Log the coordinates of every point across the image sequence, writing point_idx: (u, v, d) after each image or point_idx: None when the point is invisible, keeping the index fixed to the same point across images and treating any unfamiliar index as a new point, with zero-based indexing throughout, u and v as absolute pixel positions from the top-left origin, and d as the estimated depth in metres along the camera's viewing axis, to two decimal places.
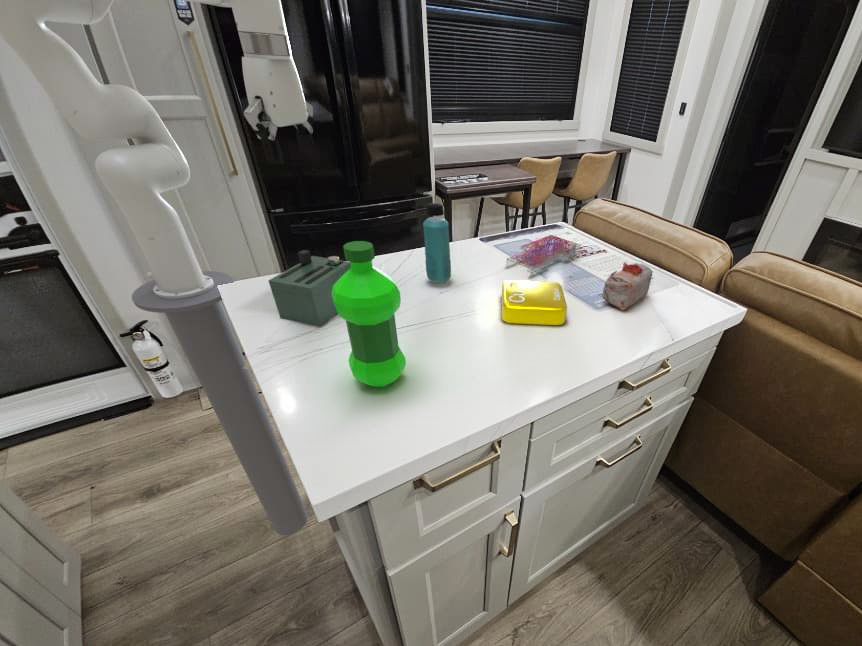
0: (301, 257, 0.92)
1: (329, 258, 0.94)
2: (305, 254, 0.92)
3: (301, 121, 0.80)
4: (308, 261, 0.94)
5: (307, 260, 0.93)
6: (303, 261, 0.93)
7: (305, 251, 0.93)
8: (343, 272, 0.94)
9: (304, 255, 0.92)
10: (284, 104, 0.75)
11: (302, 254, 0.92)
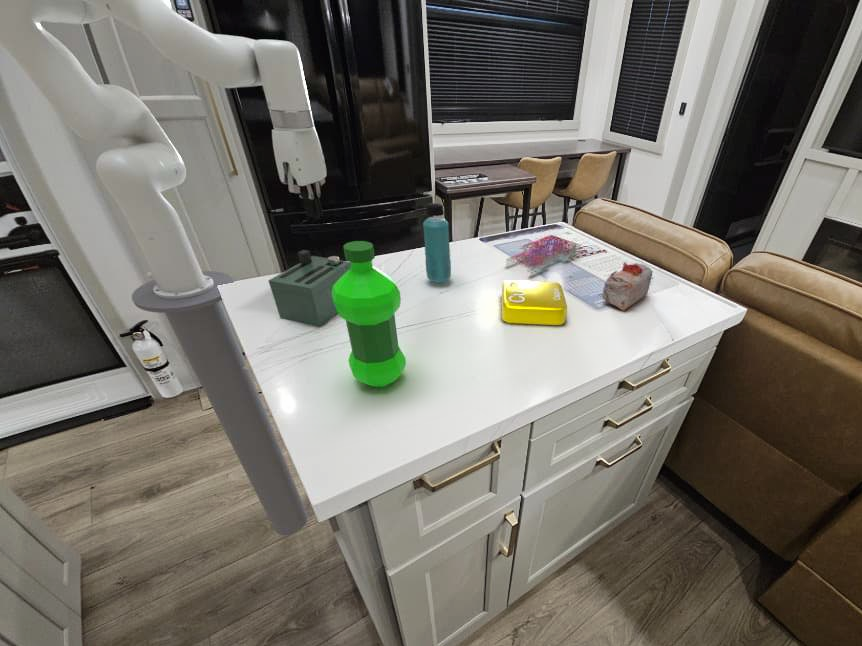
0: (301, 257, 0.92)
1: (329, 258, 0.94)
2: (305, 254, 0.92)
3: (321, 178, 0.90)
4: (308, 261, 0.94)
5: (307, 260, 0.93)
6: (303, 261, 0.93)
7: (305, 251, 0.93)
8: (343, 272, 0.94)
9: (304, 255, 0.92)
10: (307, 167, 0.85)
11: (302, 254, 0.92)
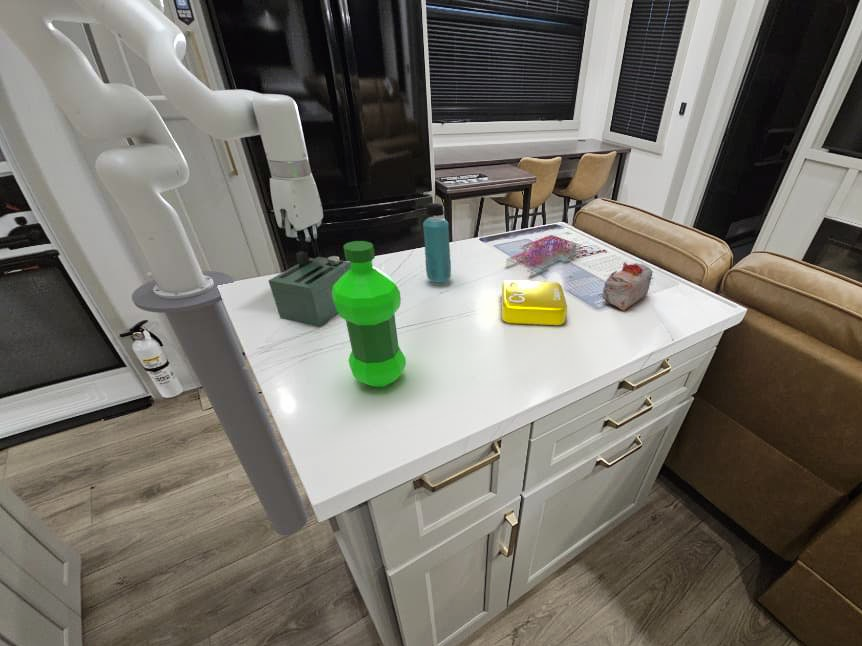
0: (299, 258, 0.92)
1: (329, 258, 0.94)
2: (303, 255, 0.92)
3: (318, 221, 0.92)
4: (306, 262, 0.93)
5: (305, 261, 0.93)
6: (301, 262, 0.92)
7: (303, 252, 0.92)
8: (343, 272, 0.94)
9: (302, 256, 0.92)
10: (304, 212, 0.87)
11: (300, 255, 0.91)
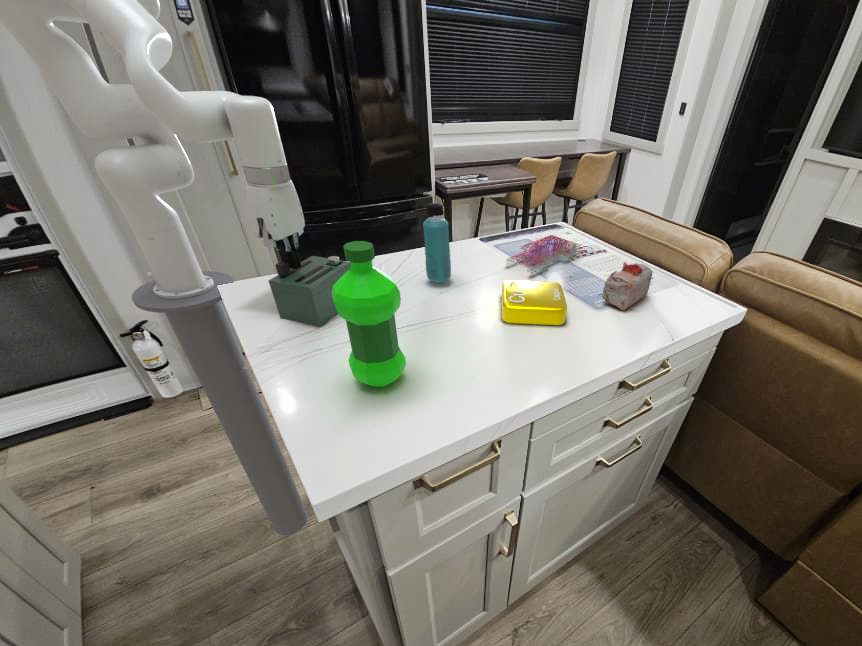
0: (279, 269, 0.87)
1: (329, 258, 0.94)
2: (283, 266, 0.87)
3: (299, 230, 0.87)
4: (287, 273, 0.88)
5: (286, 272, 0.88)
6: (281, 273, 0.87)
7: (283, 262, 0.87)
8: (343, 272, 0.94)
9: (282, 267, 0.87)
10: (283, 221, 0.82)
11: (280, 266, 0.86)
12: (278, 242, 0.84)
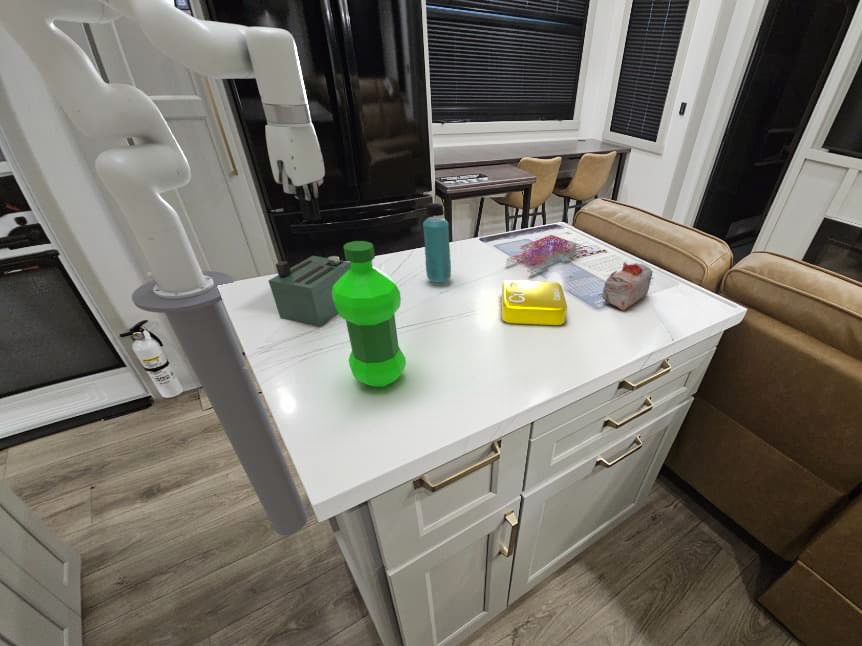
0: (279, 269, 0.87)
1: (329, 258, 0.94)
2: (283, 266, 0.87)
3: (319, 178, 0.84)
4: (287, 273, 0.88)
5: (286, 272, 0.88)
6: (282, 273, 0.88)
7: (284, 262, 0.87)
8: (343, 272, 0.94)
9: (282, 267, 0.87)
10: (304, 165, 0.79)
11: (280, 265, 0.86)
12: (298, 189, 0.81)
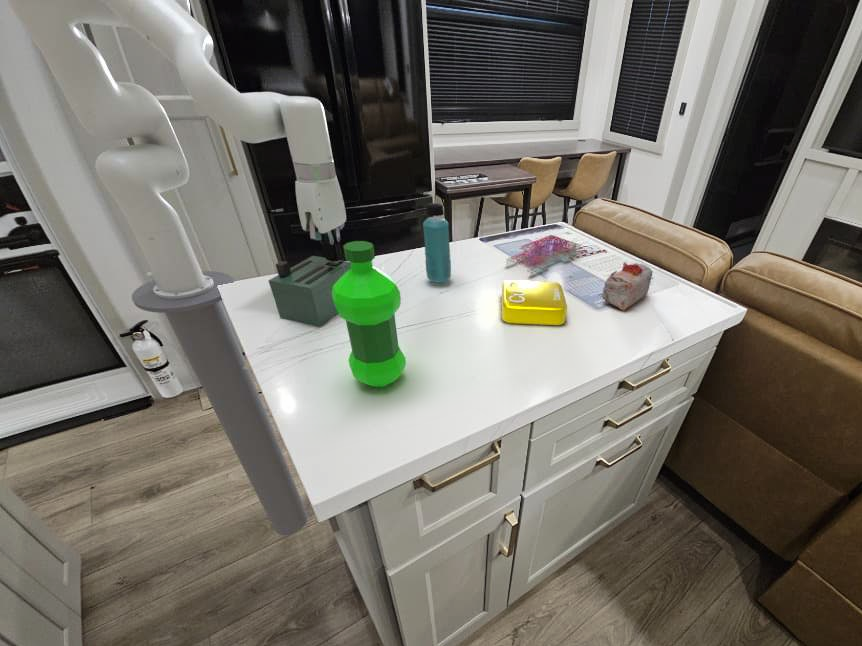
0: (279, 269, 0.87)
1: (329, 260, 0.94)
2: (283, 266, 0.87)
3: (341, 223, 0.92)
4: (287, 273, 0.88)
5: (286, 272, 0.88)
6: (282, 273, 0.88)
7: (284, 262, 0.87)
8: (343, 272, 0.94)
9: (282, 267, 0.87)
10: (329, 215, 0.87)
11: (280, 265, 0.86)
12: (323, 235, 0.88)
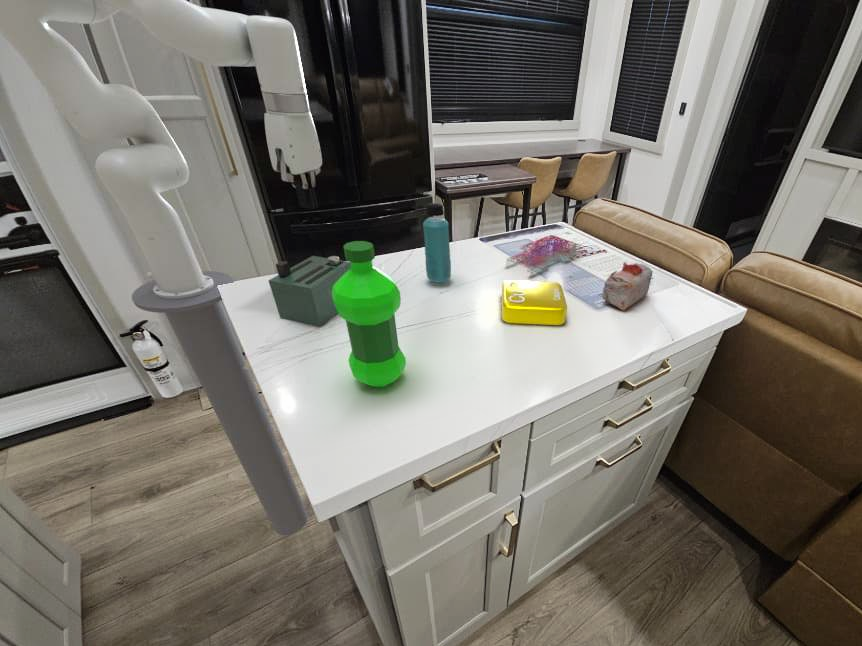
0: (279, 269, 0.87)
1: (329, 258, 0.94)
2: (283, 266, 0.87)
3: (316, 167, 0.86)
4: (287, 273, 0.88)
5: (286, 272, 0.88)
6: (282, 273, 0.88)
7: (284, 262, 0.87)
8: (343, 272, 0.94)
9: (282, 267, 0.87)
10: (302, 154, 0.81)
11: (280, 265, 0.86)
12: (295, 177, 0.82)
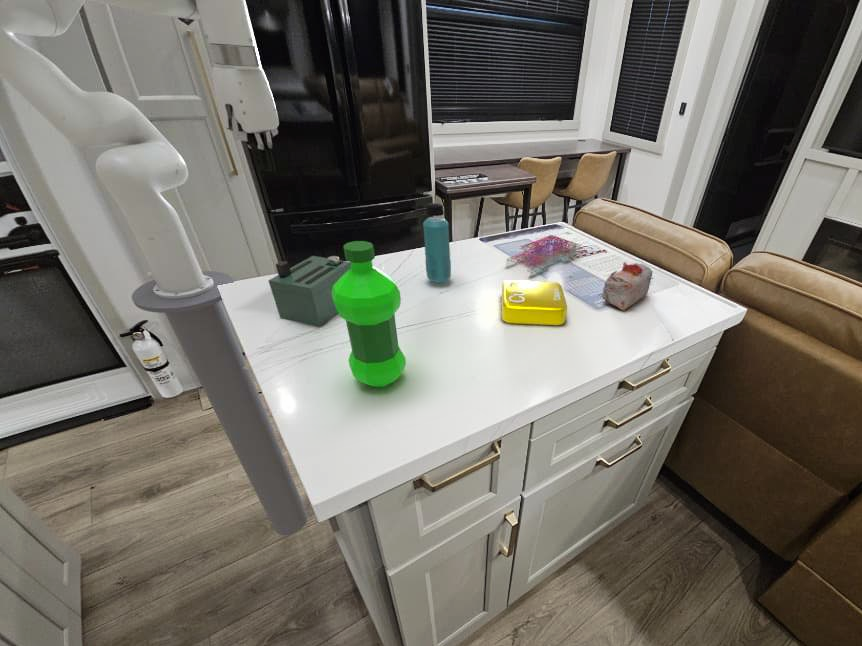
0: (279, 269, 0.87)
1: (329, 258, 0.94)
2: (283, 266, 0.87)
3: (272, 127, 0.84)
4: (287, 273, 0.88)
5: (286, 272, 0.88)
6: (282, 273, 0.88)
7: (284, 262, 0.87)
8: (343, 272, 0.94)
9: (282, 267, 0.87)
10: (254, 111, 0.78)
11: (280, 265, 0.86)
12: (249, 136, 0.80)
